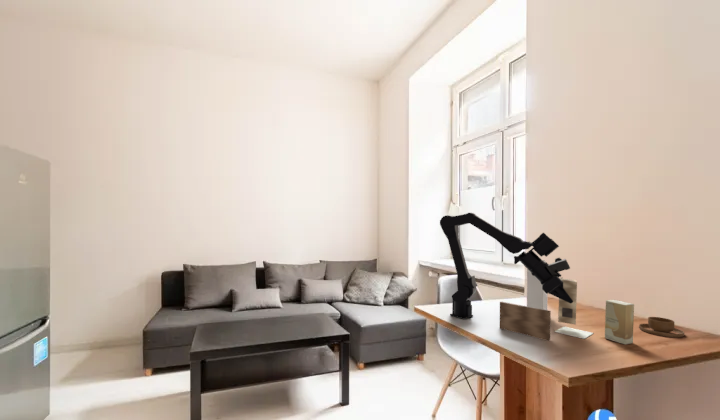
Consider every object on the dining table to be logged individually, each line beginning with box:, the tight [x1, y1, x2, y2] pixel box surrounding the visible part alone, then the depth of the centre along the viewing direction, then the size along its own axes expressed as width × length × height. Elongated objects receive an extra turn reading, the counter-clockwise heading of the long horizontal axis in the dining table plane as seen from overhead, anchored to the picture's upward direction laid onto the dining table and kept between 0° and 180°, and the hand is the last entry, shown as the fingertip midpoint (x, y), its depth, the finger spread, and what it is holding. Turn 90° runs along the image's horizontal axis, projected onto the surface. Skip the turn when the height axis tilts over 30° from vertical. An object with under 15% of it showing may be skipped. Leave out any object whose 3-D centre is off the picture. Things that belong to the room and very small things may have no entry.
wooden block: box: [557, 277, 578, 326], centre depth 120 cm, size 5×5×14 cm
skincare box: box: [604, 299, 635, 345], centre depth 112 cm, size 6×4×12 cm
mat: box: [554, 326, 594, 340], centre depth 119 cm, size 9×9×1 cm
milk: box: [526, 259, 549, 310], centre depth 140 cm, size 6×6×22 cm
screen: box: [499, 301, 552, 342], centre depth 117 cm, size 16×1×9 cm, turn 41°
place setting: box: [638, 316, 685, 338], centre depth 125 cm, size 18×20×6 cm
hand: (571, 301), depth 120 cm, fingers closed on wooden block, 5 cm apart
